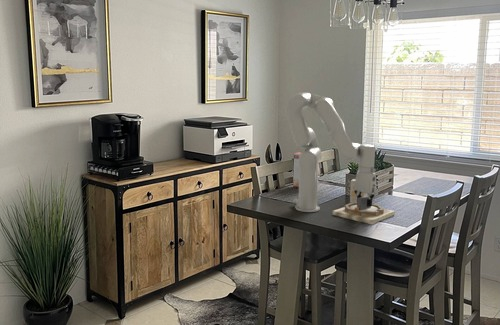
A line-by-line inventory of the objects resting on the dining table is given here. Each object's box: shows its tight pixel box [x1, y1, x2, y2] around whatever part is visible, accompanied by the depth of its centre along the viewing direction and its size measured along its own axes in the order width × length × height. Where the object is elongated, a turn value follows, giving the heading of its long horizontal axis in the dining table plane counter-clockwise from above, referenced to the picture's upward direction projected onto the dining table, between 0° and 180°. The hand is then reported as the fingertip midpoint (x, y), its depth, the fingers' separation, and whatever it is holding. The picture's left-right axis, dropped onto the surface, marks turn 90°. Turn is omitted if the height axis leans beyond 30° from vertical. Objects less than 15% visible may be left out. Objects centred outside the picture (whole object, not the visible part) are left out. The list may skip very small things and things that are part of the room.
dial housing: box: [332, 202, 396, 225], centre depth 254 cm, size 22×22×4 cm
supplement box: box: [349, 178, 367, 203], centre depth 274 cm, size 8×5×13 cm, turn 56°
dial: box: [350, 195, 378, 211], centre depth 254 cm, size 14×14×7 cm
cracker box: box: [292, 151, 302, 188], centre depth 308 cm, size 14×6×21 cm, turn 42°
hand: (364, 204), depth 254 cm, fingers open, 5 cm apart
